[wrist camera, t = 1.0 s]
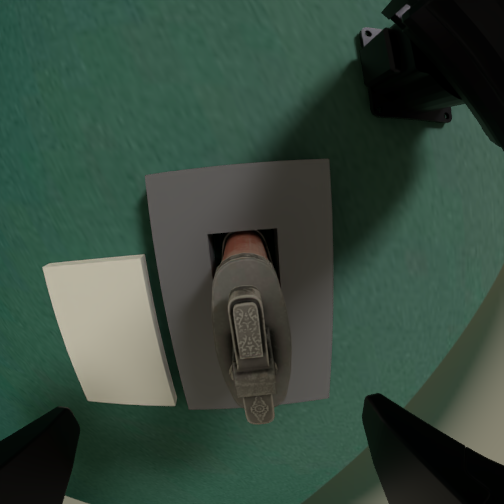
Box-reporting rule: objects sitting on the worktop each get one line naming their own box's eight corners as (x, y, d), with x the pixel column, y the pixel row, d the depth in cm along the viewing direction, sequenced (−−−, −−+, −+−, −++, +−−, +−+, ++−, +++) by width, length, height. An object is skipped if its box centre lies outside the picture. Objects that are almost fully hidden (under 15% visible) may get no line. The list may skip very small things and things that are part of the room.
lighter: (280, 335, 22) (303, 442, 12) (232, 341, 22) (227, 450, 12) (269, 221, 20) (295, 273, 10) (214, 227, 20) (188, 285, 10)
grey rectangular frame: (318, 159, 19) (329, 158, 16) (321, 378, 23) (328, 398, 20) (156, 174, 19) (144, 175, 16) (193, 388, 23) (188, 409, 20)
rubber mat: (144, 254, 20) (140, 258, 19) (177, 398, 23) (175, 406, 22) (49, 263, 20) (42, 267, 19) (91, 394, 23) (87, 400, 22)
